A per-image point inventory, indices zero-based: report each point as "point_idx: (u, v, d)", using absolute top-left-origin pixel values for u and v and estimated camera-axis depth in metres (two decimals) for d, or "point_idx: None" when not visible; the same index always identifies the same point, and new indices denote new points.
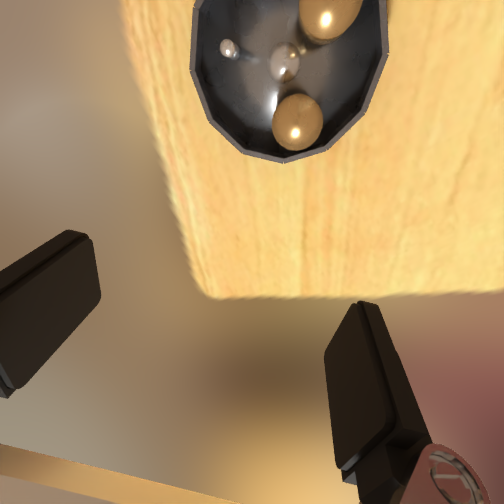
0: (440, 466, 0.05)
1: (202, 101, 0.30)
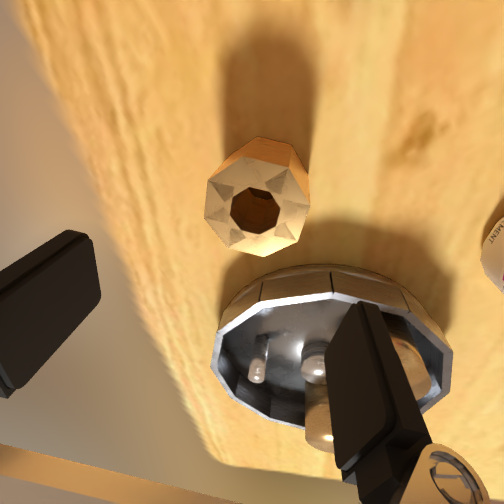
0: (440, 466, 0.05)
1: (224, 386, 0.27)
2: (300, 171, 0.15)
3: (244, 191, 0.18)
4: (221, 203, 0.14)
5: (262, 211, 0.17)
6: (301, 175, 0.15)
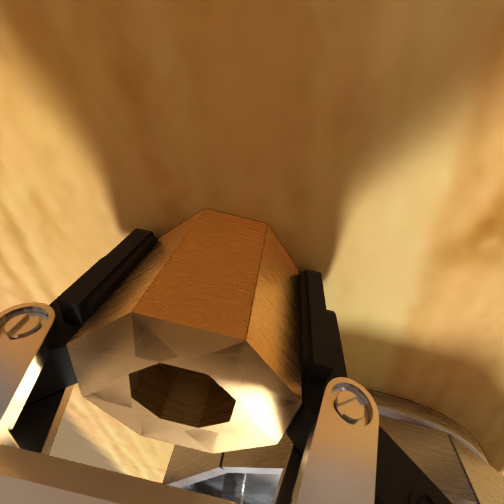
0: (340, 396, 0.06)
1: None
2: (282, 289, 0.08)
3: None
4: (108, 380, 0.06)
5: None
6: (284, 301, 0.07)
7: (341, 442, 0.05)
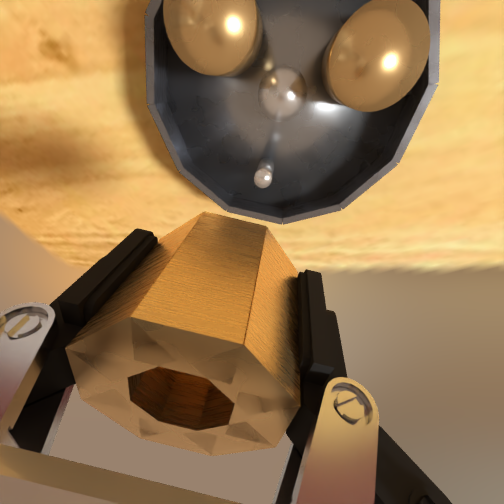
0: (340, 396, 0.06)
1: (316, 214, 0.23)
2: (281, 292, 0.08)
3: None
4: (107, 384, 0.06)
5: None
6: (282, 304, 0.07)
7: (341, 442, 0.05)
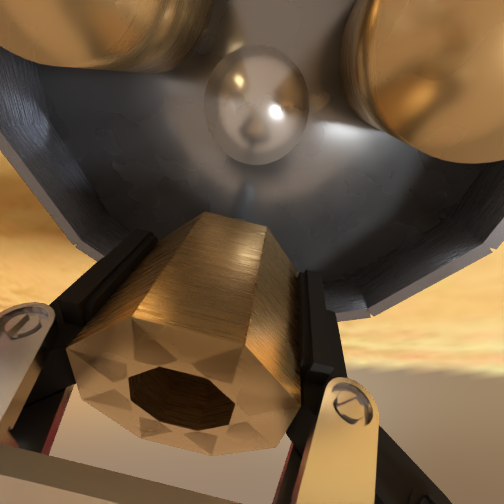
0: (340, 396, 0.06)
1: None
2: (281, 292, 0.08)
3: None
4: (108, 384, 0.06)
5: None
6: (283, 305, 0.07)
7: (341, 442, 0.05)
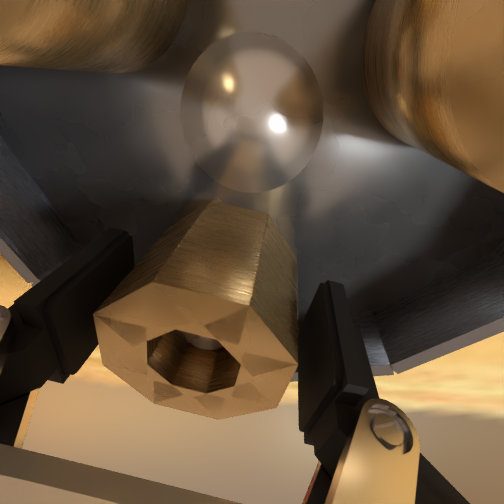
0: (378, 418, 0.06)
1: None
2: (281, 271, 0.09)
3: None
4: (128, 348, 0.07)
5: None
6: (283, 281, 0.08)
7: (384, 472, 0.05)
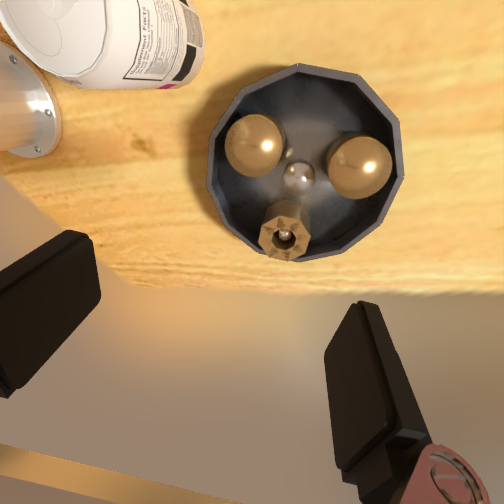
0: (440, 466, 0.05)
1: (323, 256, 0.32)
2: (305, 218, 0.30)
3: None
4: (267, 235, 0.29)
5: None
6: (306, 220, 0.30)
7: None
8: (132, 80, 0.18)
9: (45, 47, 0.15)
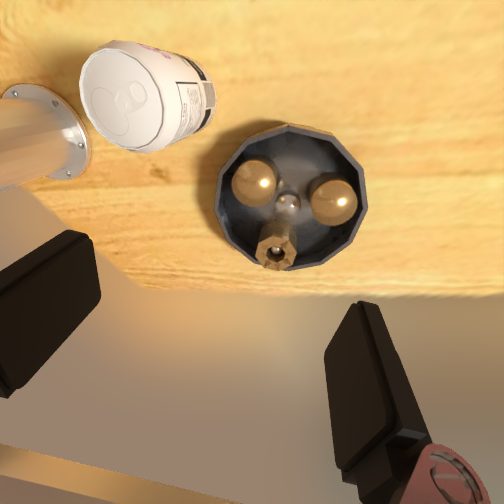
0: (440, 466, 0.05)
1: (307, 266, 0.40)
2: (293, 236, 0.38)
3: None
4: (262, 251, 0.37)
5: None
6: (293, 238, 0.38)
7: None
8: (169, 144, 0.25)
9: (116, 129, 0.22)
